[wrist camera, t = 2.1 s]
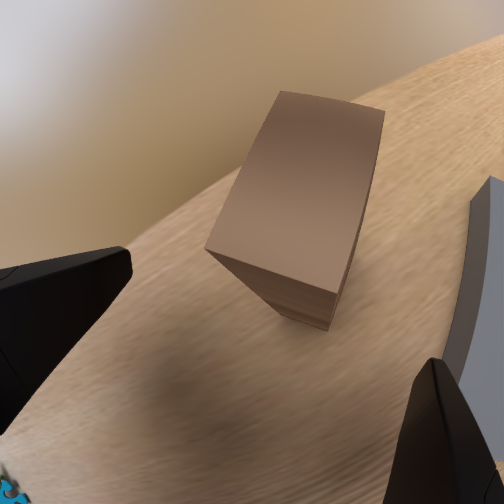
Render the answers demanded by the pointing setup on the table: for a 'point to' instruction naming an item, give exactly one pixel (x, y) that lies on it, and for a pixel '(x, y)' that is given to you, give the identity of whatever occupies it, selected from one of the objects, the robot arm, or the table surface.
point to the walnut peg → (300, 204)
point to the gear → (4, 503)
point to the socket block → (482, 317)
